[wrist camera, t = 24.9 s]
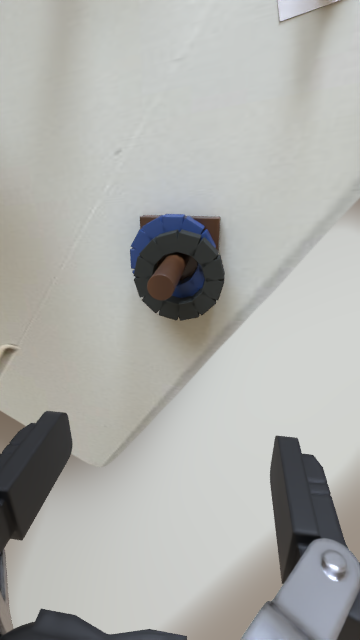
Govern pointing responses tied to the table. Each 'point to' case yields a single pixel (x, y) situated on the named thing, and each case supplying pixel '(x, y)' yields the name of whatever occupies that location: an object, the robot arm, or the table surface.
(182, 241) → the charcoal ring
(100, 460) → the table surface
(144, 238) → the navy ring
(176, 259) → the stand
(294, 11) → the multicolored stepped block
